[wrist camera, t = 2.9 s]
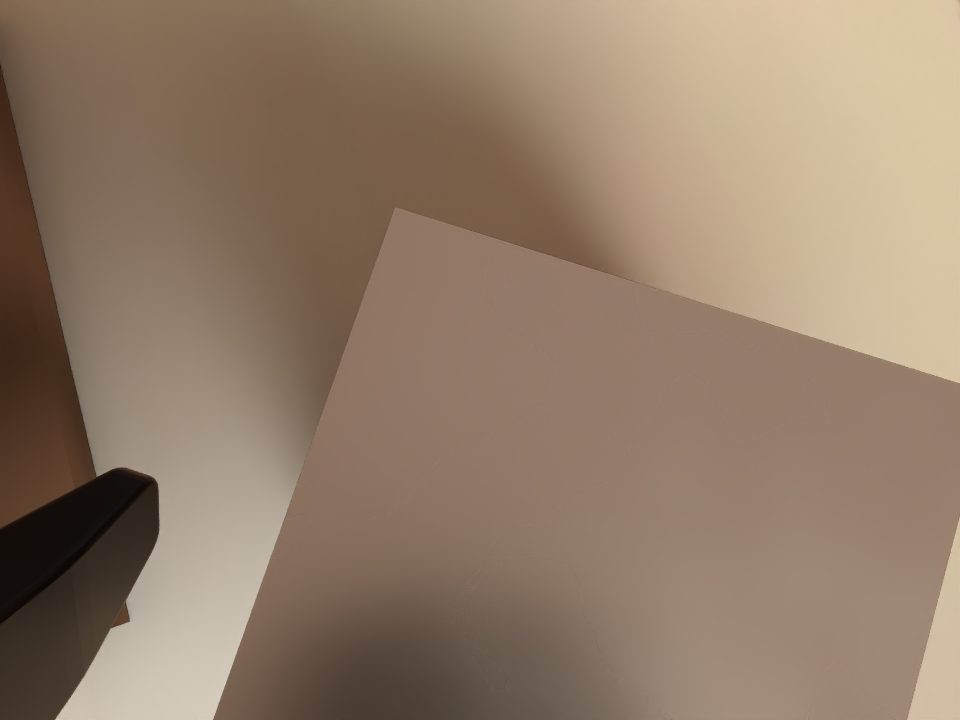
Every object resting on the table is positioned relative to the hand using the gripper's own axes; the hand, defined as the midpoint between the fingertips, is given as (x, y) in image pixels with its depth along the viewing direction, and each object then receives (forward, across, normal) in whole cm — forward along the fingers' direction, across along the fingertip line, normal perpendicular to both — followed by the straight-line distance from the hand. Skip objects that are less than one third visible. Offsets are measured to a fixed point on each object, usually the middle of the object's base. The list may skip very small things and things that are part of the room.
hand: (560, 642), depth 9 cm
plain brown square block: (+6, 0, +6) cm, 8 cm away
